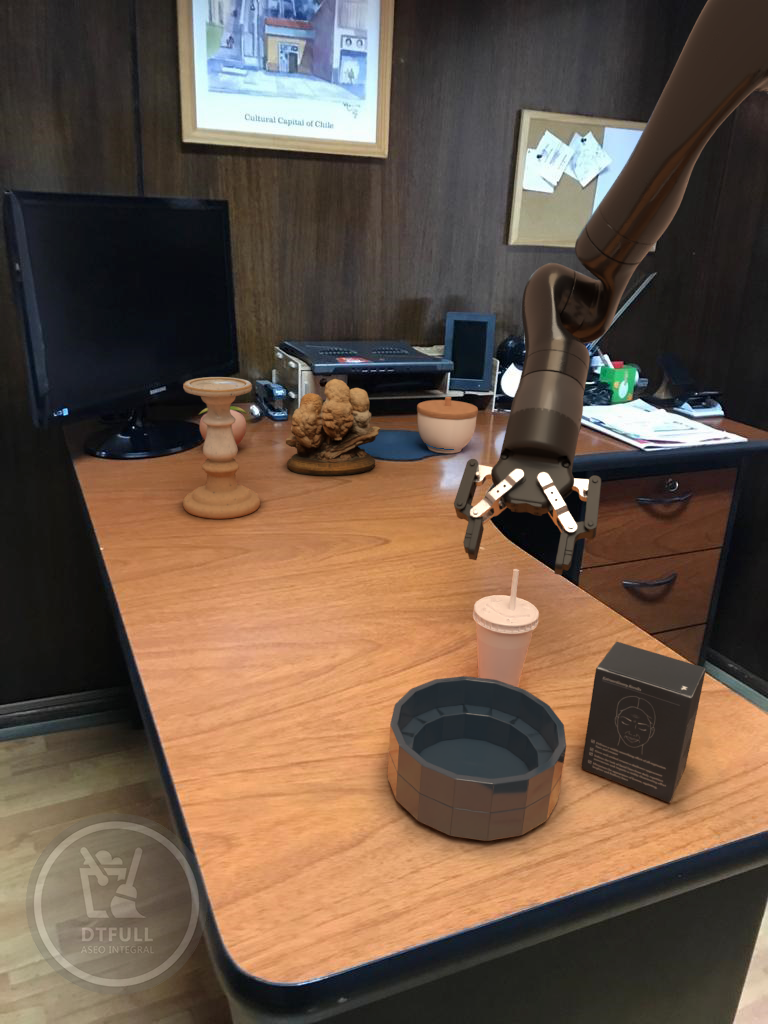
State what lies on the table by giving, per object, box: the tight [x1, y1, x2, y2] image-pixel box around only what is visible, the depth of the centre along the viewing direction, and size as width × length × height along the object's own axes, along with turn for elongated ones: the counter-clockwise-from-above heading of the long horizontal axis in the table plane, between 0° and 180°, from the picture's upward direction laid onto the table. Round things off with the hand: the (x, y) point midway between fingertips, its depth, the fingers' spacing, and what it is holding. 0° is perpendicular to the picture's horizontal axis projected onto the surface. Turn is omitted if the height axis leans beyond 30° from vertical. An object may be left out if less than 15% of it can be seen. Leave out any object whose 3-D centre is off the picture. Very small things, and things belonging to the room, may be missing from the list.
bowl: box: [386, 675, 567, 842], centre depth 65 cm, size 14×14×6 cm
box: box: [581, 641, 707, 803], centre depth 67 cm, size 8×6×11 cm
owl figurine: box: [285, 378, 381, 477], centre depth 145 cm, size 18×12×17 cm, turn 106°
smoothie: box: [472, 568, 540, 687], centre depth 76 cm, size 6×6×14 cm
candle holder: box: [182, 376, 261, 520], centre depth 122 cm, size 12×12×20 cm
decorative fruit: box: [198, 405, 248, 445], centre depth 153 cm, size 9×8×10 cm
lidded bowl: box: [416, 396, 479, 454], centre depth 162 cm, size 13×13×11 cm
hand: (514, 564), depth 76 cm, fingers open, 8 cm apart
